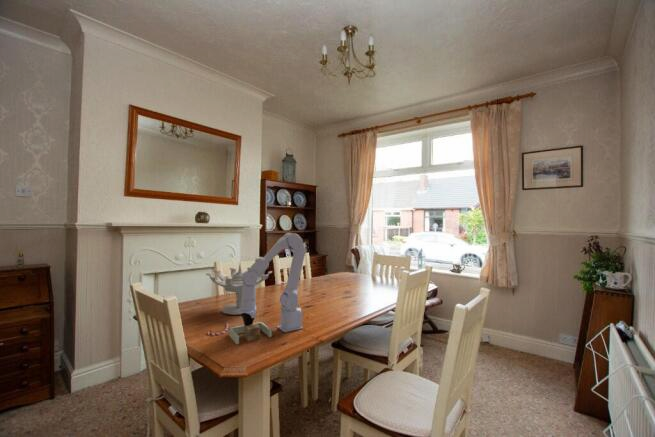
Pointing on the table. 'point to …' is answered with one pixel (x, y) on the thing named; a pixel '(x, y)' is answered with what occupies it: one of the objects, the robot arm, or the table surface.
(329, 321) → the table surface
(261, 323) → the sage corner frame
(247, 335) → the tan cube
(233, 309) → the candelabra
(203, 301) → the table surface
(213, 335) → the candy cane
